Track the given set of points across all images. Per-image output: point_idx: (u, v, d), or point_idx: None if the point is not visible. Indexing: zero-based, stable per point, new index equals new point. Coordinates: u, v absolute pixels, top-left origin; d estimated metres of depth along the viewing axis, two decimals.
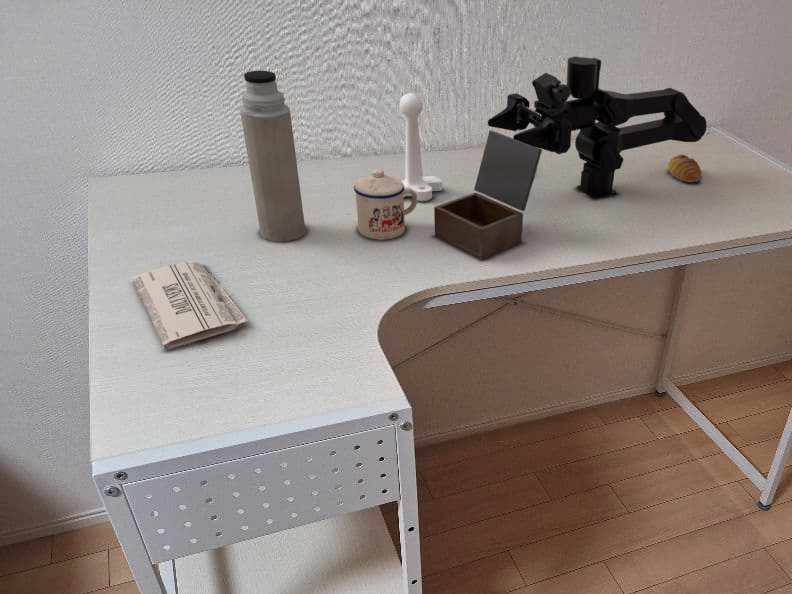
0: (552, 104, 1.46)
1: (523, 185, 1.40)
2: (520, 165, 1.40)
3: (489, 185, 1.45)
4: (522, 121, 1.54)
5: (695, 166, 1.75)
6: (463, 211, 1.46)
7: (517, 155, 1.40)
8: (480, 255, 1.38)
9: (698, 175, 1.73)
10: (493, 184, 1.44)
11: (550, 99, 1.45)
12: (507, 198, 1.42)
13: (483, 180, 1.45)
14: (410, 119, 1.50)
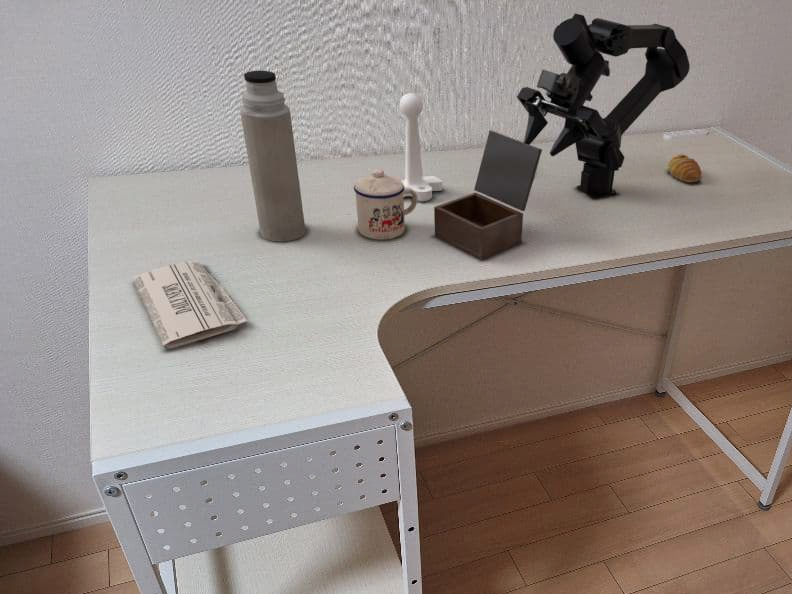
0: (567, 95, 1.42)
1: (523, 185, 1.40)
2: (520, 165, 1.40)
3: (489, 185, 1.45)
4: None
5: (695, 166, 1.75)
6: (463, 211, 1.46)
7: (517, 155, 1.40)
8: (480, 255, 1.38)
9: (698, 175, 1.73)
10: (493, 184, 1.44)
11: (563, 94, 1.41)
12: (507, 198, 1.42)
13: (483, 180, 1.45)
14: (410, 119, 1.50)
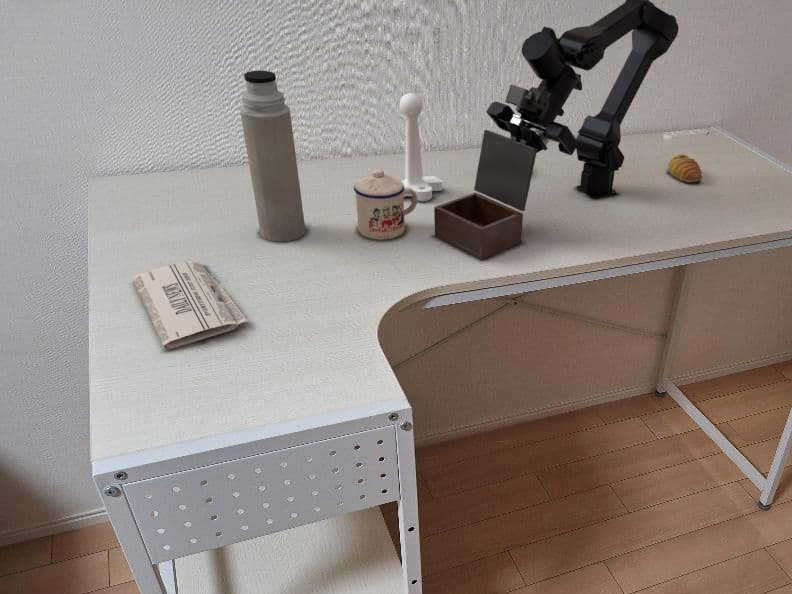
0: (536, 111, 1.37)
1: (521, 185, 1.39)
2: (516, 165, 1.39)
3: (488, 185, 1.44)
4: None
5: (695, 166, 1.75)
6: (463, 211, 1.46)
7: (513, 155, 1.39)
8: (480, 255, 1.38)
9: (698, 175, 1.73)
10: (491, 185, 1.44)
11: (532, 110, 1.37)
12: (506, 198, 1.42)
13: (482, 180, 1.45)
14: (410, 119, 1.50)
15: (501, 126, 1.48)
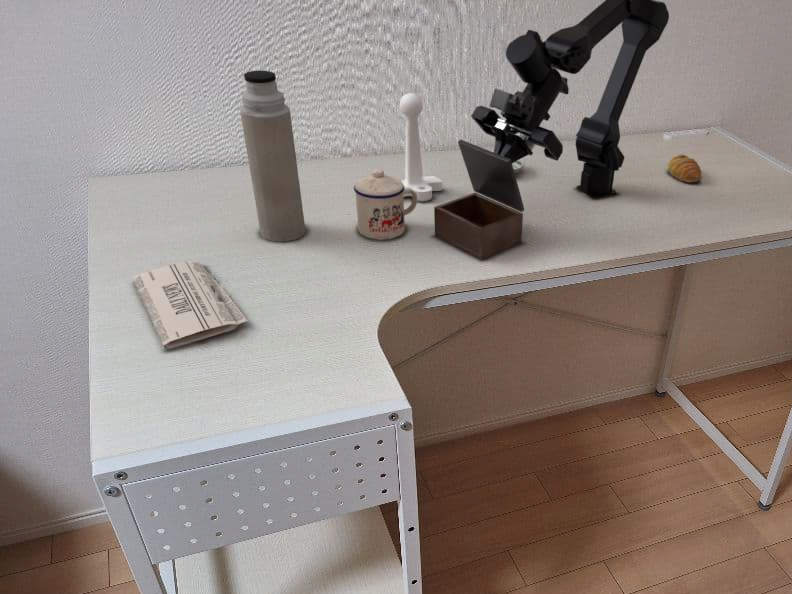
0: (521, 115, 1.35)
1: (511, 191, 1.38)
2: (499, 174, 1.37)
3: (484, 189, 1.44)
4: None
5: (695, 166, 1.75)
6: (463, 211, 1.46)
7: (492, 165, 1.36)
8: (480, 255, 1.38)
9: (698, 175, 1.73)
10: (486, 188, 1.43)
11: (517, 114, 1.34)
12: (504, 201, 1.42)
13: (477, 184, 1.44)
14: (410, 119, 1.50)
15: (486, 130, 1.46)
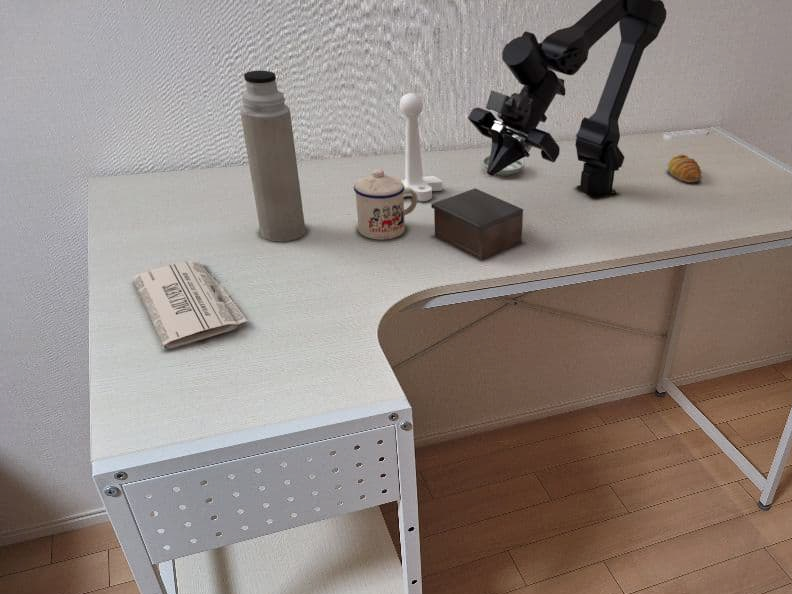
0: (518, 117, 1.35)
1: None
2: None
3: None
4: None
5: (695, 166, 1.75)
6: None
7: None
8: (480, 255, 1.38)
9: (698, 175, 1.73)
10: None
11: (513, 116, 1.34)
12: None
13: None
14: (410, 119, 1.50)
15: (483, 132, 1.45)
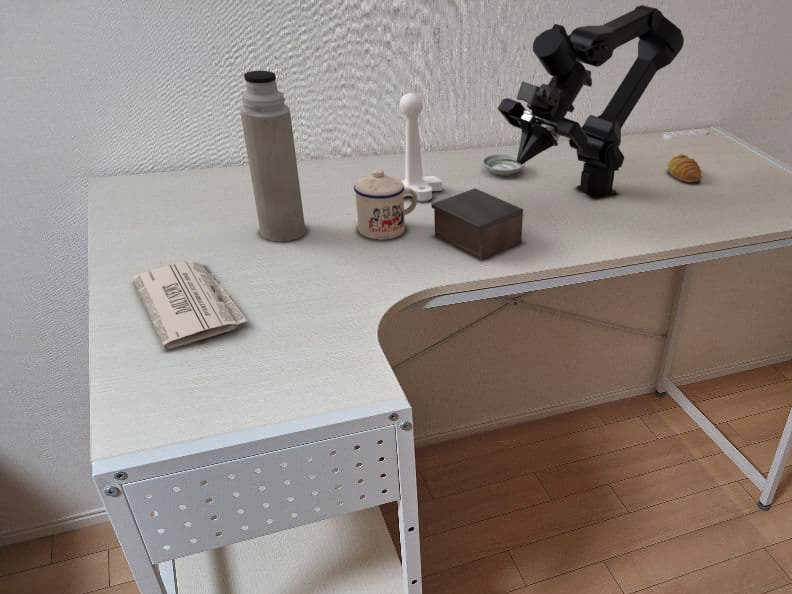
0: (547, 107, 1.39)
1: None
2: None
3: None
4: None
5: (695, 166, 1.75)
6: None
7: None
8: (480, 255, 1.38)
9: (698, 175, 1.73)
10: None
11: (543, 106, 1.38)
12: None
13: None
14: (410, 119, 1.50)
15: (512, 122, 1.50)
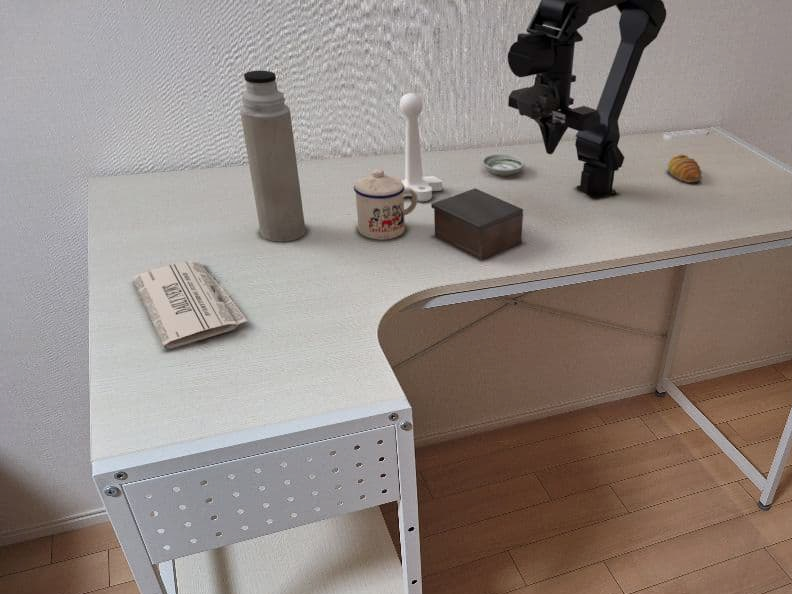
0: None
1: None
2: None
3: None
4: None
5: (695, 166, 1.75)
6: None
7: None
8: (480, 255, 1.38)
9: (698, 175, 1.73)
10: None
11: None
12: None
13: None
14: (410, 119, 1.50)
15: None
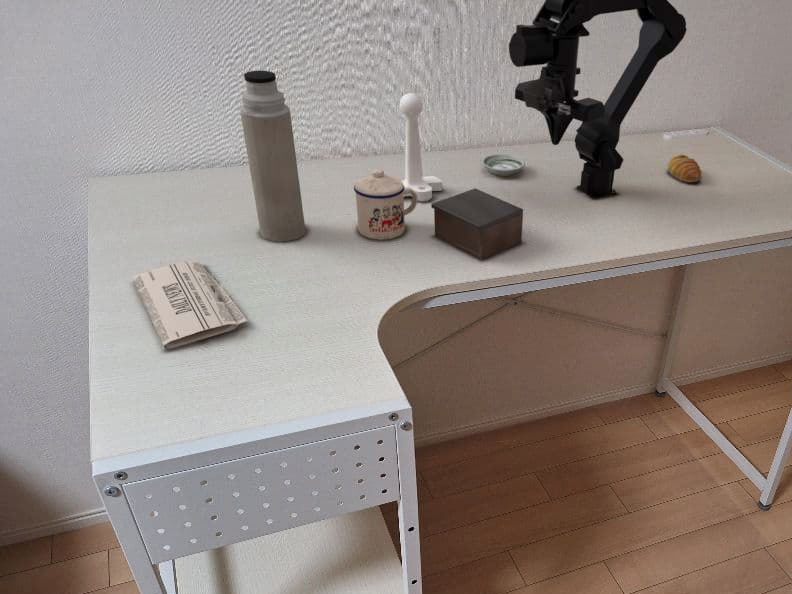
0: None
1: None
2: None
3: None
4: None
5: (695, 166, 1.75)
6: None
7: None
8: (480, 255, 1.38)
9: (698, 175, 1.73)
10: None
11: None
12: None
13: None
14: (410, 119, 1.50)
15: None
